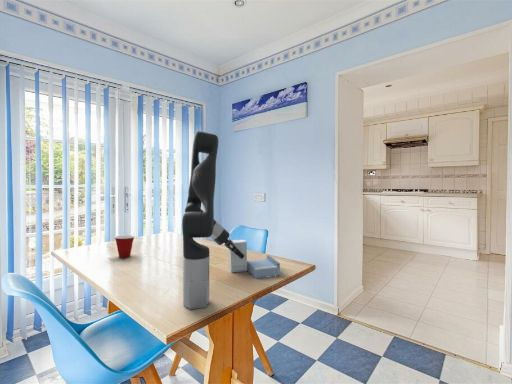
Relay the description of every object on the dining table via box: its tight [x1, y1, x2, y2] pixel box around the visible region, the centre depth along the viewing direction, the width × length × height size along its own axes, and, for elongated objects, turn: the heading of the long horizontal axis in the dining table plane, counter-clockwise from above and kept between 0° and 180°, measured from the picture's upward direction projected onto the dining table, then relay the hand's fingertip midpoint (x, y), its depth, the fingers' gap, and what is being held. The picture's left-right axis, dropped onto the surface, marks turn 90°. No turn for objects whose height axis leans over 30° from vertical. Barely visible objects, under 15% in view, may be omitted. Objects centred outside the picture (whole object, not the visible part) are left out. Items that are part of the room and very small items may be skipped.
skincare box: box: [228, 239, 248, 274], centre depth 132 cm, size 8×6×15 cm
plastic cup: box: [113, 234, 136, 259], centre depth 154 cm, size 11×11×12 cm
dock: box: [247, 254, 281, 279], centre depth 129 cm, size 14×12×6 cm
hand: (241, 255), depth 132 cm, fingers closed on skincare box, 6 cm apart
